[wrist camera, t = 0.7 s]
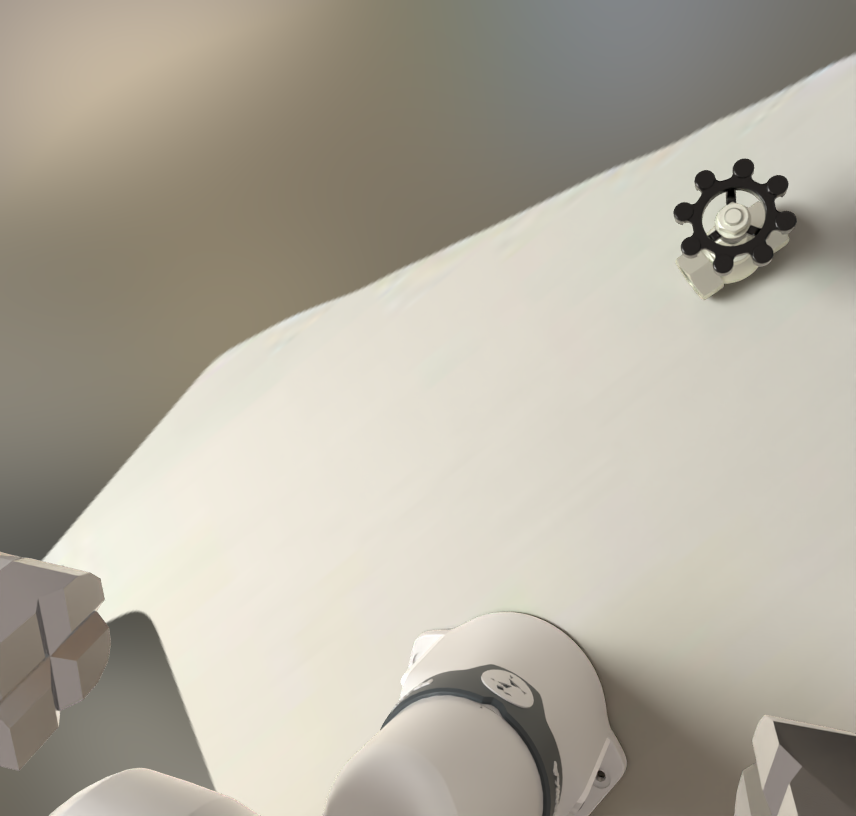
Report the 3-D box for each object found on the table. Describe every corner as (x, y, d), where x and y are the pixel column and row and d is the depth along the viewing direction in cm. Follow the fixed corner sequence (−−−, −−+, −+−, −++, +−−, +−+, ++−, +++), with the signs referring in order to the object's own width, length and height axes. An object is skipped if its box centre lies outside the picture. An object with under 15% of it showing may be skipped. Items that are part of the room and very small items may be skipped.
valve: (664, 250, 54) (650, 208, 43) (743, 193, 52) (750, 133, 41) (716, 321, 53) (716, 296, 41) (800, 265, 51) (824, 224, 39)
